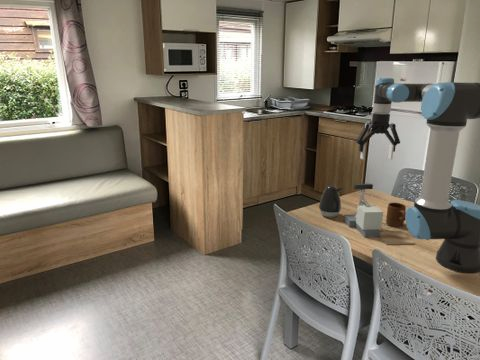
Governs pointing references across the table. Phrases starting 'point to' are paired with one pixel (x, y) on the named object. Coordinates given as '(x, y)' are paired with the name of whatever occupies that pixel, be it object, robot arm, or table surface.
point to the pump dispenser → (330, 202)
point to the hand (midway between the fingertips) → (376, 158)
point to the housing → (351, 222)
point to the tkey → (363, 192)
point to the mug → (395, 214)
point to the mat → (395, 238)
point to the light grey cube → (369, 217)
